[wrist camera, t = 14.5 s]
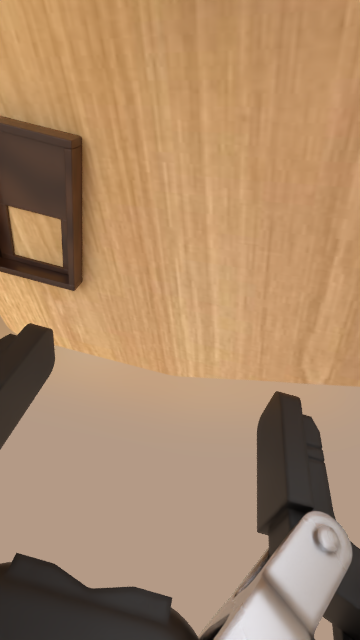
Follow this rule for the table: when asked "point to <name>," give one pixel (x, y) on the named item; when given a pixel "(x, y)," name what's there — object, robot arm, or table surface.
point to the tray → (41, 196)
